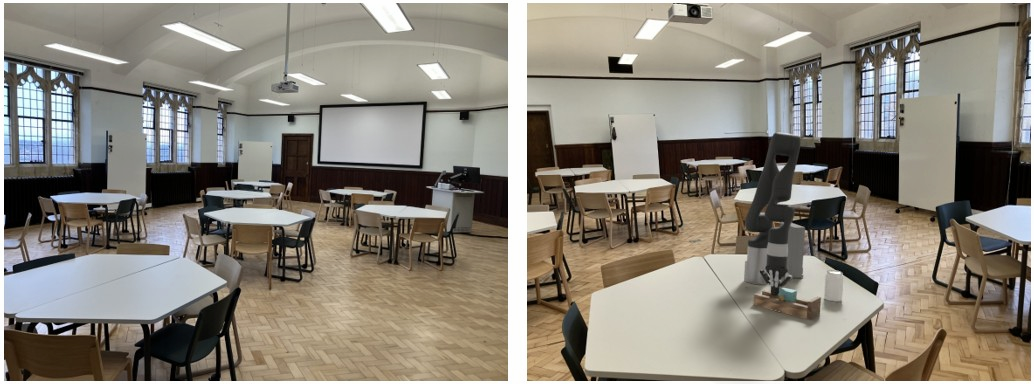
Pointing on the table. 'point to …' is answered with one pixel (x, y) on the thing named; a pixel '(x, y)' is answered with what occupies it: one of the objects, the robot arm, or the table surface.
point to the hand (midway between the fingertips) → (774, 295)
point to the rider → (788, 294)
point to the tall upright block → (795, 250)
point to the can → (833, 286)
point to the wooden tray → (789, 305)
